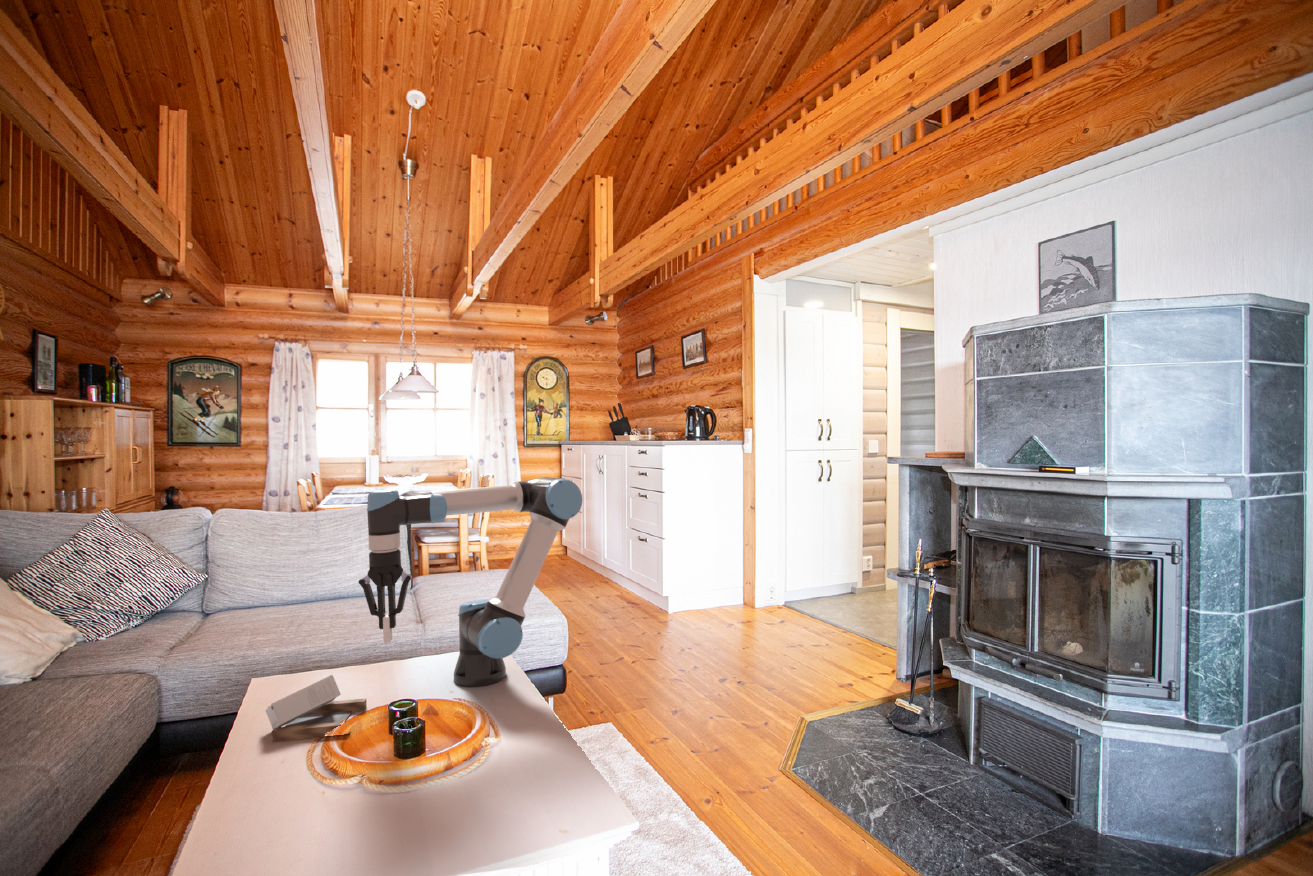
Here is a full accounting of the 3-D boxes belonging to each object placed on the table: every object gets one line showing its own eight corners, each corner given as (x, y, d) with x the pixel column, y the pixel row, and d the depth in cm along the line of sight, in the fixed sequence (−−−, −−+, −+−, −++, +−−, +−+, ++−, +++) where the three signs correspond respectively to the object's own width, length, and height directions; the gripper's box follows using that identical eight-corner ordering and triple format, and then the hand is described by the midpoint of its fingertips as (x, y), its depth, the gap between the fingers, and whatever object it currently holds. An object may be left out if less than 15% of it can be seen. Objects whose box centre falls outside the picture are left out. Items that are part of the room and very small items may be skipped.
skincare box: (334, 700, 167) (273, 732, 156) (325, 679, 168) (263, 710, 157) (341, 693, 161) (279, 727, 150) (332, 672, 162) (269, 704, 151)
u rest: (366, 707, 168) (366, 698, 168) (348, 734, 153) (348, 724, 153) (297, 713, 165) (297, 704, 165) (272, 742, 150) (271, 731, 150)
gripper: (414, 546, 167) (417, 634, 167) (362, 549, 165) (365, 638, 165) (408, 550, 160) (411, 643, 160) (353, 554, 157) (356, 648, 157)
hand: (388, 640), depth 162 cm, fingers closed
